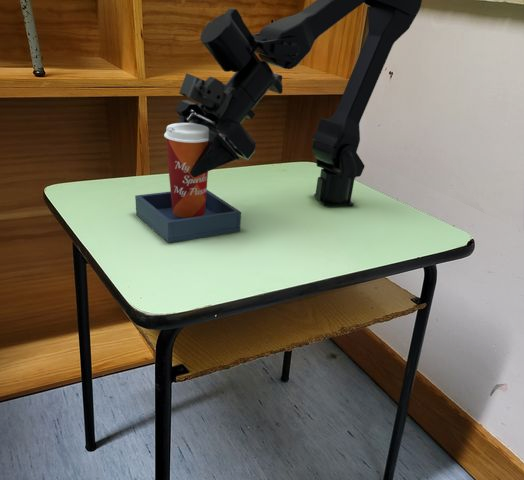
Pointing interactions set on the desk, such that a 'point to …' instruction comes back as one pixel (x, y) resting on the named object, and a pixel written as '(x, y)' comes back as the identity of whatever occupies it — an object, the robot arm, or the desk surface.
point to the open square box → (178, 228)
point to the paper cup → (186, 168)
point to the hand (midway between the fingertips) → (181, 168)
